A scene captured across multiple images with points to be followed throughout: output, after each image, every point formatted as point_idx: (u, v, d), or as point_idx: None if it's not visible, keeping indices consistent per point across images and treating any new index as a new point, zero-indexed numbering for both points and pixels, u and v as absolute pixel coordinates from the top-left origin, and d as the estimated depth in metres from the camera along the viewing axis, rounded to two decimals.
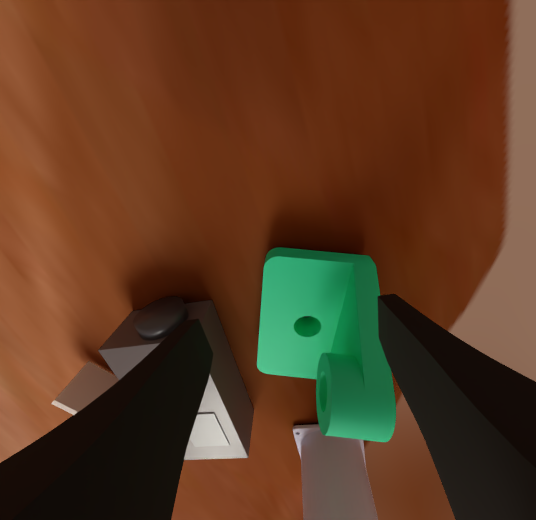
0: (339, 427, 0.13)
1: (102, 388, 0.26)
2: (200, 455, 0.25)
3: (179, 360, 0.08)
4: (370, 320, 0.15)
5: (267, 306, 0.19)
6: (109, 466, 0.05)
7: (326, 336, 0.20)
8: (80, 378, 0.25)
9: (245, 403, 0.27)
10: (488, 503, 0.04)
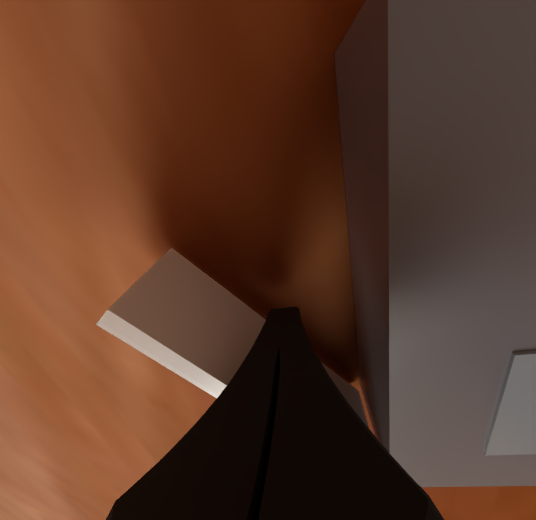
0: None
1: (213, 308, 0.10)
2: (473, 477, 0.10)
3: None
4: None
5: None
6: None
7: None
8: (163, 275, 0.10)
9: None
10: None
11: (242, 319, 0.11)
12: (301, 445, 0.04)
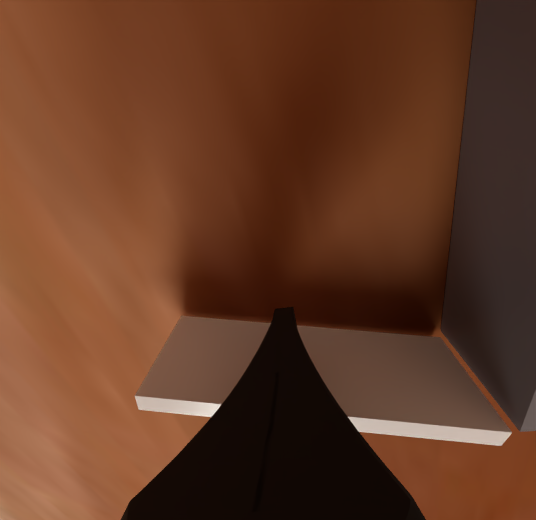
0: None
1: (230, 344, 0.11)
2: None
3: None
4: None
5: None
6: None
7: None
8: (177, 343, 0.11)
9: None
10: None
11: None
12: (289, 446, 0.04)
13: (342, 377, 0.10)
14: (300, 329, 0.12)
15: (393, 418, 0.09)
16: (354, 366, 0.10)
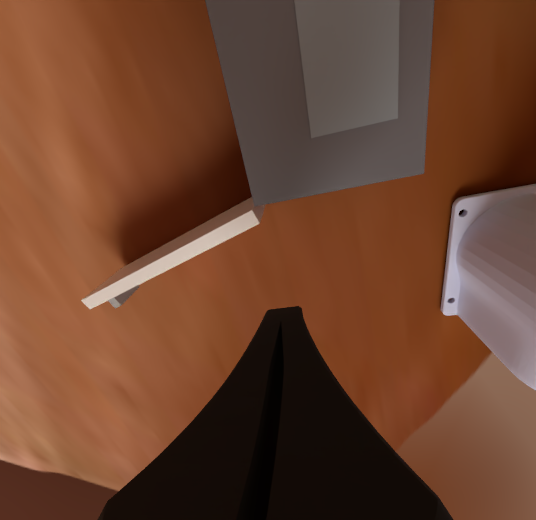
0: None
1: (136, 263, 0.18)
2: (313, 178, 0.12)
3: (280, 350, 0.08)
4: None
5: None
6: (265, 462, 0.05)
7: None
8: (111, 277, 0.18)
9: None
10: None
11: (155, 251, 0.18)
12: (307, 445, 0.04)
13: (181, 242, 0.16)
14: (178, 237, 0.18)
15: (191, 241, 0.14)
16: (193, 234, 0.16)
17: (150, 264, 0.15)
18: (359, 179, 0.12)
